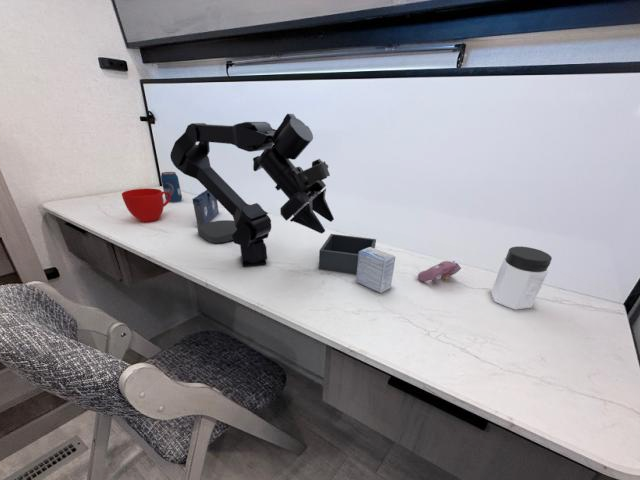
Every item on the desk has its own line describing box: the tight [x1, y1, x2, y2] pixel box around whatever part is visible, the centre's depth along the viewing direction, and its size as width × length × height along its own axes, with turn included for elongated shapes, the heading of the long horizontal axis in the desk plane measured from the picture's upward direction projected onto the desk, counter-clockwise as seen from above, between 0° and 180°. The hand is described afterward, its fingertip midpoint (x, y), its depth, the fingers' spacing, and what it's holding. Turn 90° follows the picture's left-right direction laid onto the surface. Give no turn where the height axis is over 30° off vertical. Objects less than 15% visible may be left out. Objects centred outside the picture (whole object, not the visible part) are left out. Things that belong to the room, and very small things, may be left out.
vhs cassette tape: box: [192, 189, 220, 228], centre depth 114 cm, size 18×3×10 cm, turn 178°
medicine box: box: [355, 247, 396, 294], centre depth 74 cm, size 8×4×9 cm, turn 44°
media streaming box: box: [197, 219, 237, 244], centre depth 103 cm, size 15×15×3 cm
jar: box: [490, 246, 553, 310], centre depth 69 cm, size 9×8×12 cm
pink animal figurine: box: [417, 260, 462, 284], centre depth 78 cm, size 10×5×7 cm, turn 118°
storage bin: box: [318, 233, 377, 275], centre depth 86 cm, size 14×14×6 cm
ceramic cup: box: [121, 187, 170, 223], centre depth 114 cm, size 13×17×10 cm
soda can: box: [160, 171, 183, 203], centre depth 136 cm, size 7×7×12 cm
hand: (328, 226), depth 73 cm, fingers open, 9 cm apart
